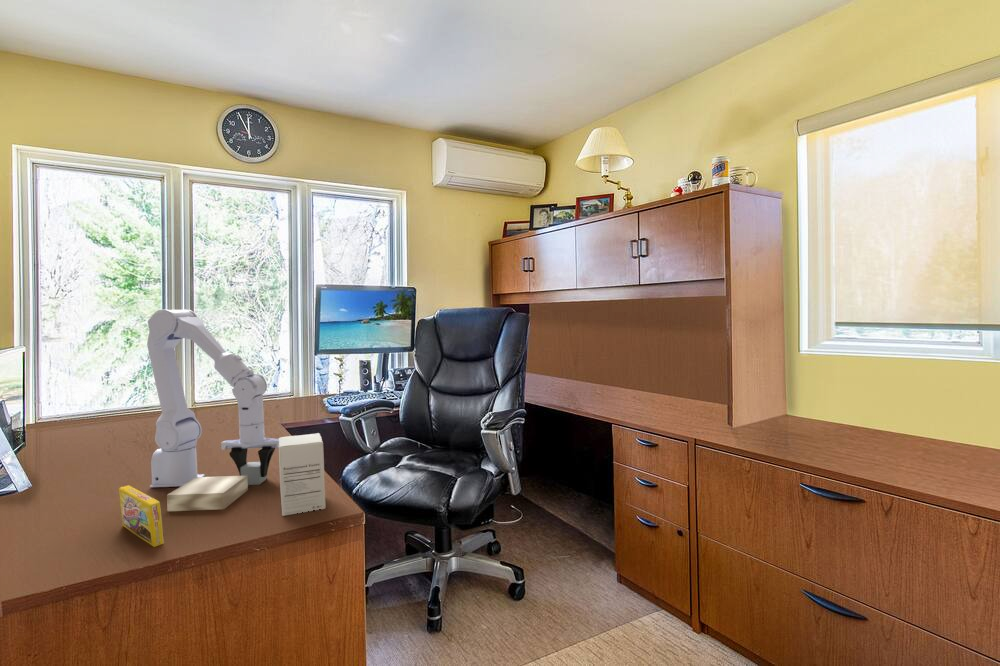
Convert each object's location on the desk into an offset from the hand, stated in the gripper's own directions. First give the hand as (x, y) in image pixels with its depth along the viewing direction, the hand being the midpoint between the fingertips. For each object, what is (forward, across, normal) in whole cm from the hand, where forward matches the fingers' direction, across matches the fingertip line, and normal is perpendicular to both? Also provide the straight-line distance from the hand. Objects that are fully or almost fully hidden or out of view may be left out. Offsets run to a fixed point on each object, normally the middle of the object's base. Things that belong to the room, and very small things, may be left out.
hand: (253, 476), depth 131 cm
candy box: (+2, -9, -30) cm, 31 cm away
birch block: (+2, -5, -12) cm, 13 cm away
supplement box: (+2, +18, -18) cm, 26 cm away
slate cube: (+1, 0, 0) cm, 1 cm away
